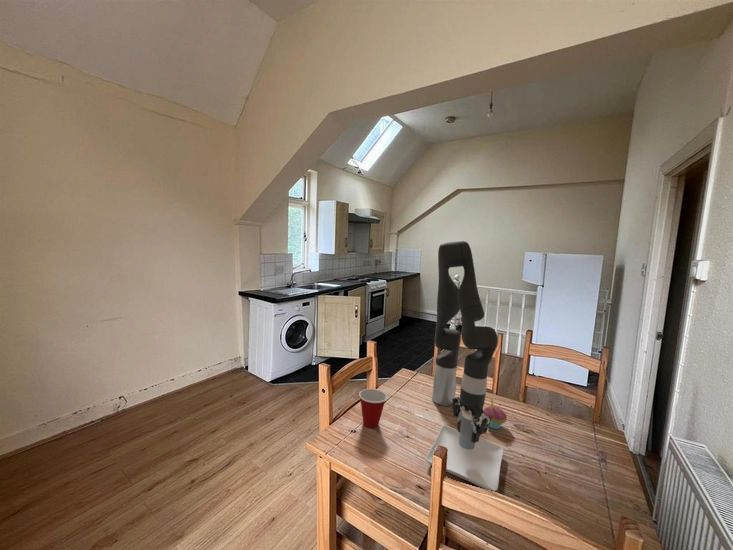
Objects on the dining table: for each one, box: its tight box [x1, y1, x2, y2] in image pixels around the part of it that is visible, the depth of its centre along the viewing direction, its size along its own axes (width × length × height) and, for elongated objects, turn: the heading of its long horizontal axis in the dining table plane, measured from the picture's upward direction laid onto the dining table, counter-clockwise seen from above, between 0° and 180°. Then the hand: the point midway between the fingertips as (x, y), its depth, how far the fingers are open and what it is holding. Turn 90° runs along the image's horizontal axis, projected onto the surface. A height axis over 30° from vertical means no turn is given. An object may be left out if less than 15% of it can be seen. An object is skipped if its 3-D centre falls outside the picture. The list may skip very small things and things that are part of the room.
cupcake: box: [483, 395, 508, 430], centre depth 116 cm, size 9×8×12 cm
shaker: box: [459, 410, 478, 450], centre depth 95 cm, size 5×5×12 cm
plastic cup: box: [358, 388, 388, 429], centre depth 112 cm, size 11×11×12 cm
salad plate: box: [425, 424, 504, 492], centre depth 97 cm, size 21×21×3 cm
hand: (467, 436), depth 96 cm, fingers closed on shaker, 5 cm apart
